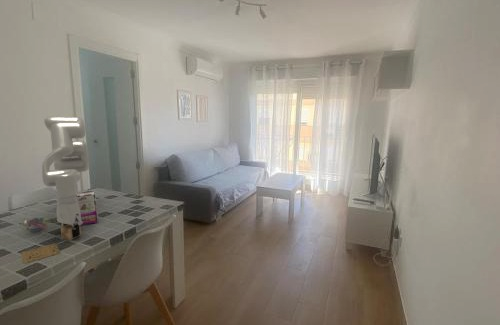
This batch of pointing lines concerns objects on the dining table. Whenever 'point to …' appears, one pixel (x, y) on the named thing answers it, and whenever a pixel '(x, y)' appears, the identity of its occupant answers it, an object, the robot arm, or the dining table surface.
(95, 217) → the candy bar box
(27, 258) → the cookie
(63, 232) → the oak block
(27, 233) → the dining table surface
